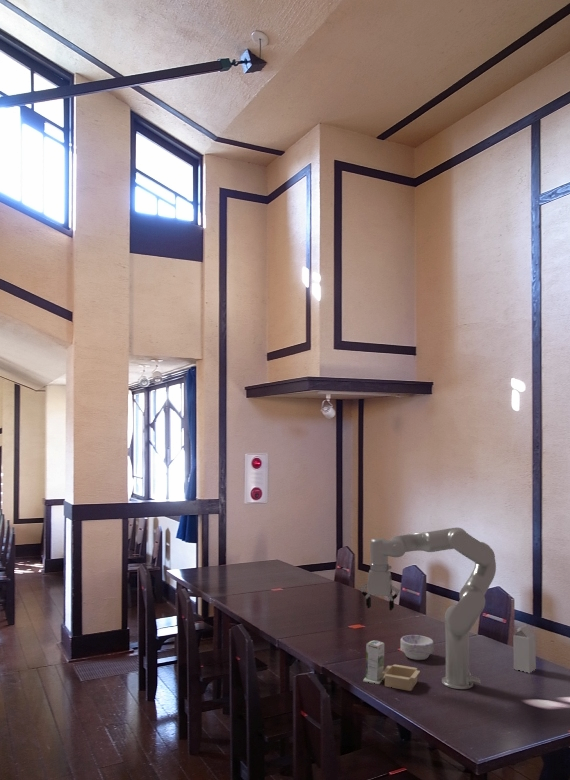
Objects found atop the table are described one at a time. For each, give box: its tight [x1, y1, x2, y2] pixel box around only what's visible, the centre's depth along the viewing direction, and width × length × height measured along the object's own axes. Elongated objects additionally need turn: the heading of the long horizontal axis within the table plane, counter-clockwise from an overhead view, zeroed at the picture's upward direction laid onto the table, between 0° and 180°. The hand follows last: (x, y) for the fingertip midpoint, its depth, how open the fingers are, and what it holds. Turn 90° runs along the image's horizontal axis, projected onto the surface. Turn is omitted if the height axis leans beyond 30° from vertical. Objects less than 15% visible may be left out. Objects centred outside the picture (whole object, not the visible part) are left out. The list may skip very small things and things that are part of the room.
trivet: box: [362, 676, 385, 685], centre depth 267 cm, size 7×9×1 cm
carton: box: [382, 664, 421, 692], centre depth 262 cm, size 14×15×5 cm
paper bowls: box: [400, 634, 435, 661], centre depth 297 cm, size 15×15×8 cm
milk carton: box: [512, 624, 537, 674], centre depth 282 cm, size 7×7×19 cm
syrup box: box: [365, 640, 385, 681], centre depth 267 cm, size 6×6×14 cm
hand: (380, 608), depth 271 cm, fingers open, 9 cm apart
